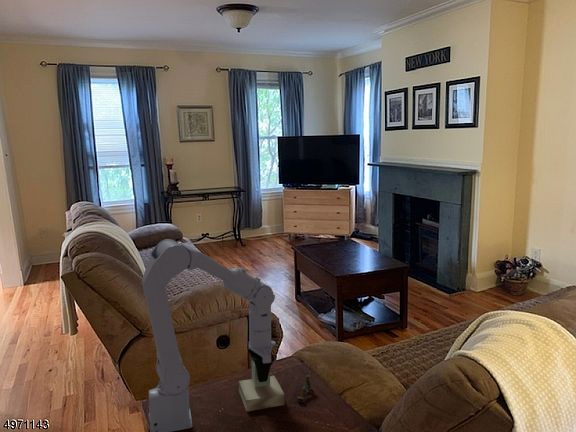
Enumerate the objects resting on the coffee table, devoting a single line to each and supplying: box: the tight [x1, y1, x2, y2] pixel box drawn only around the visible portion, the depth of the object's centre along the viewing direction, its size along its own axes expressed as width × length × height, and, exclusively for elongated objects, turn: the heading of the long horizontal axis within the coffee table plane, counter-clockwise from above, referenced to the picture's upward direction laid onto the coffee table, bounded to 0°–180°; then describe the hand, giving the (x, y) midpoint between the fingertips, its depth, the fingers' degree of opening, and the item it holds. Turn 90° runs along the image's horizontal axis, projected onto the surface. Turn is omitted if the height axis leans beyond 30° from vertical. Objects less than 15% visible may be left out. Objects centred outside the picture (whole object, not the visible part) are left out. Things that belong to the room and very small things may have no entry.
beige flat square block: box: [238, 375, 286, 412], centre depth 113 cm, size 10×10×3 cm
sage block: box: [251, 358, 271, 387], centre depth 113 cm, size 4×4×6 cm
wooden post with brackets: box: [296, 374, 312, 403], centre depth 115 cm, size 2×8×4 cm, turn 160°
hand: (260, 376), depth 113 cm, fingers closed on sage block, 4 cm apart
